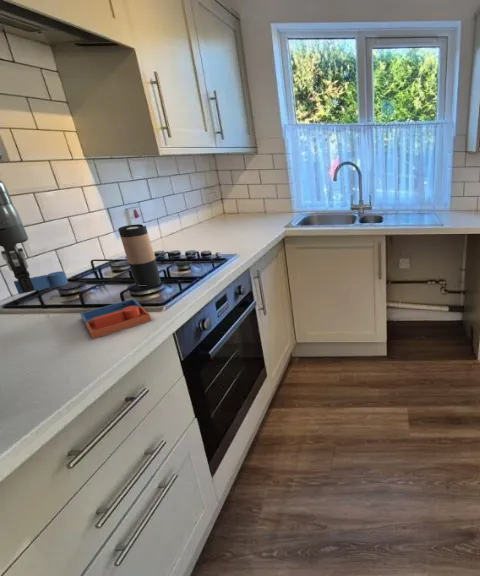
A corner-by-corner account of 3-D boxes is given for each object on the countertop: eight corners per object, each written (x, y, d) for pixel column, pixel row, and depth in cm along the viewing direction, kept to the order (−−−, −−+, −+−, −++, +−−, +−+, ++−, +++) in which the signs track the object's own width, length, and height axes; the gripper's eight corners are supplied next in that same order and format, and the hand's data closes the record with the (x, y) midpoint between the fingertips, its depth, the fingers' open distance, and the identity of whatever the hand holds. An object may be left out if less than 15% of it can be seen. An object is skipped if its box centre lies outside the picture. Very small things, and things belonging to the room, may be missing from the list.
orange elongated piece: (98, 332, 92) (94, 321, 91) (95, 327, 95) (91, 317, 93) (142, 318, 99) (139, 308, 98) (139, 314, 101) (135, 304, 100)
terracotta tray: (93, 338, 90) (90, 332, 89) (87, 328, 95) (85, 322, 94) (151, 320, 99) (149, 314, 98) (143, 312, 104) (141, 306, 103)
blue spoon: (19, 295, 91) (14, 283, 90) (18, 291, 93) (13, 280, 92) (69, 284, 98) (65, 273, 97) (67, 281, 100) (63, 270, 99)
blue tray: (87, 328, 95) (84, 321, 95) (82, 319, 100) (79, 313, 99) (143, 311, 104) (141, 305, 103) (135, 304, 109) (134, 298, 108)
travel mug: (132, 290, 119) (113, 230, 111) (141, 281, 126) (124, 225, 118) (157, 287, 120) (140, 228, 113) (165, 279, 127) (149, 223, 119)
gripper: (-22, 222, 89) (7, 287, 95) (-23, 230, 80) (10, 302, 87) (19, 218, 94) (44, 280, 100) (23, 225, 85) (50, 292, 92)
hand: (28, 290), depth 93 cm, fingers closed on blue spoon, 1 cm apart
